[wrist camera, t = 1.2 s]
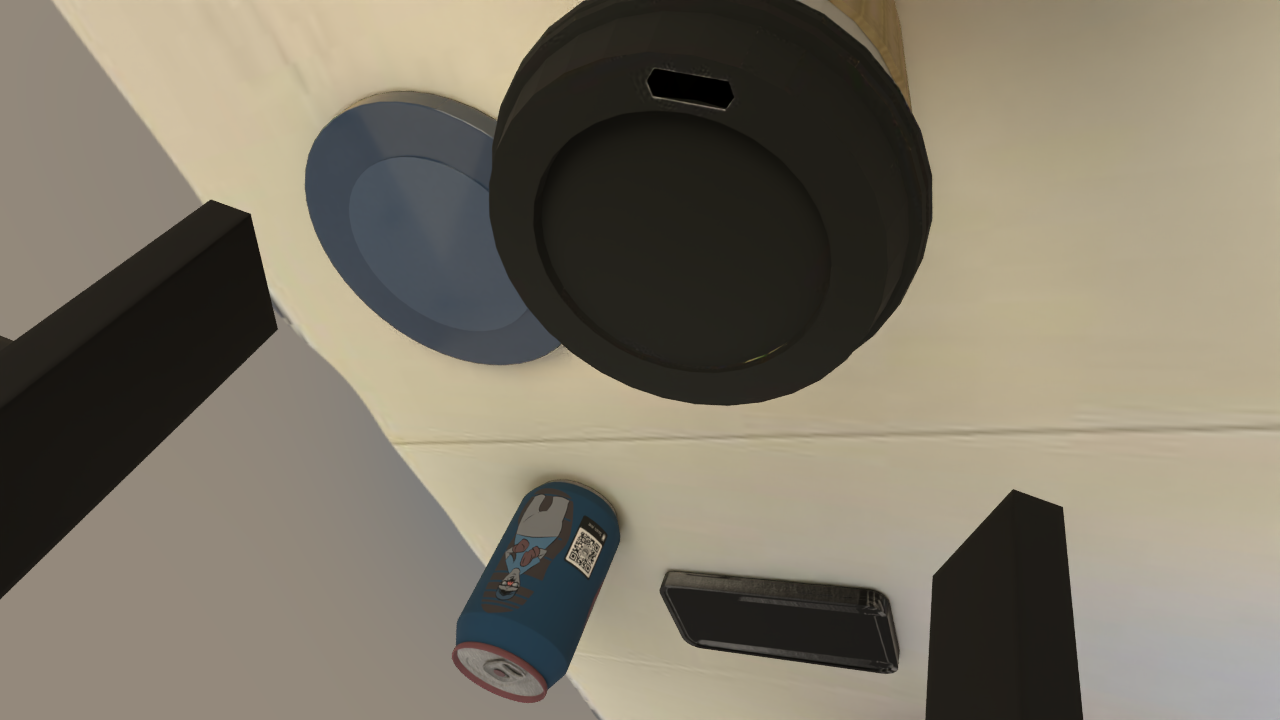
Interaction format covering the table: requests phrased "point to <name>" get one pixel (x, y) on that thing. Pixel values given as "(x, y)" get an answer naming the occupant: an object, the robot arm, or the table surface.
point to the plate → (420, 225)
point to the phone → (784, 620)
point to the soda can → (537, 591)
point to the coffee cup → (712, 189)
